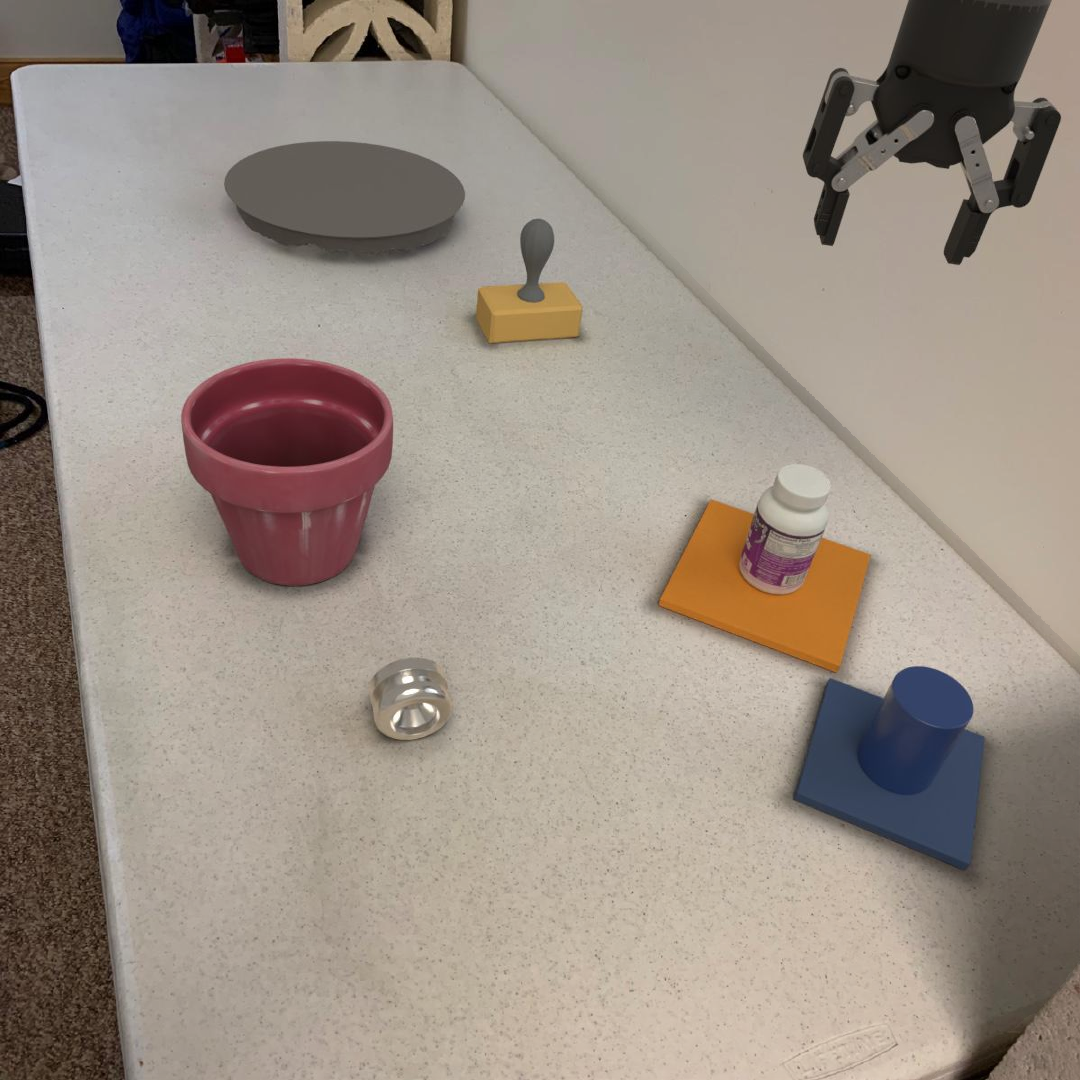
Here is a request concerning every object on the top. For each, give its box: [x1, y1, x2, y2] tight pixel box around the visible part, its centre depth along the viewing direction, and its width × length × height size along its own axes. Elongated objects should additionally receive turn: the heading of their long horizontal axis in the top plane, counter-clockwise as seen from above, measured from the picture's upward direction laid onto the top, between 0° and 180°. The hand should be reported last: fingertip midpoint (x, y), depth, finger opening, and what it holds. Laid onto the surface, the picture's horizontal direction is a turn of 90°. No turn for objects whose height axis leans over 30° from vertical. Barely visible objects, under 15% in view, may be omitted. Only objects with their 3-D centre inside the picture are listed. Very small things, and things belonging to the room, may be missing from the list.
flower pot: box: [180, 357, 394, 587], centre depth 73 cm, size 14×14×13 cm
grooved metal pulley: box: [368, 657, 453, 741], centre depth 64 cm, size 5×3×5 cm, turn 105°
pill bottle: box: [739, 463, 832, 595], centre depth 76 cm, size 5×5×10 cm
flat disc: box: [223, 140, 466, 256], centre depth 119 cm, size 28×28×4 cm
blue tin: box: [858, 665, 974, 795], centre depth 64 cm, size 5×5×7 cm
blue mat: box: [793, 677, 985, 871], centre depth 66 cm, size 11×11×1 cm
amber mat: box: [658, 499, 872, 673], centre depth 79 cm, size 14×14×1 cm
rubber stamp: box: [475, 218, 584, 344], centre depth 102 cm, size 10×6×12 cm, turn 108°
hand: (888, 250), depth 67 cm, fingers open, 8 cm apart
